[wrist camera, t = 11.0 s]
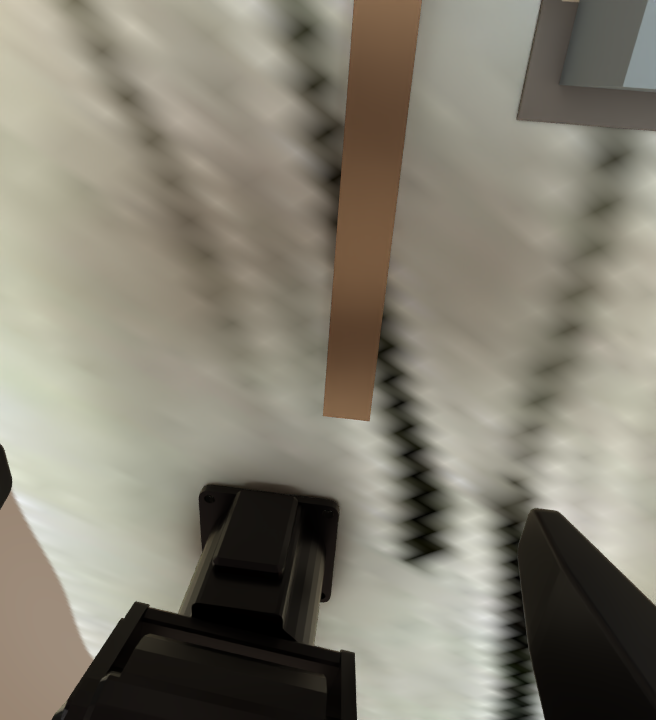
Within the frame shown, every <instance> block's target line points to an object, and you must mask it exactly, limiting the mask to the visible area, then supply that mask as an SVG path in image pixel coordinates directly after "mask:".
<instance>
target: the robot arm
mask: <svg viewBox="0 0 656 720" xmlns="http://www.w3.org/2000/svg"><path fill="white" fill-rule="evenodd" d="M11 487H12V476H11V472H10V469H9V465H8V461H7V458H6V454H5V450H4V448H3V446H2V445H1V444H0V509H1V507H2V506H3V504H4V502H5V500H6V499H7V497H8V495H9V493H10V491H11ZM208 495H211V496H213V497H209V496H208ZM199 510H200V526H201V543H202V555H201V557H200V560H199V562H198V565H197V567H196V570H195V572H194V575H193V577H192V580H191V582H190V585H189V587H188V590H187V592H186V595H185V597H184V600H183V602H182V605H181V607H180V610H179V612H178V614H177V613H172V612H168V611H164V610H160V609H155V608H151V607H149V606H150V605H149V604H145V603H141V602H137V601H135V603H134V604H133V606H132V607H131V609H130V610H129V612H128V613H127V615H126V616H125V618H121V619H120V621H119V622H118V624H117V626H116V627H115V629H114V630H113V632H112V633H111V635H110V636H109V638H108V639H107V641H106V642H105V644H104V645H103V647H102V648H101V650H100V651H99V653H98V654H97V656H96V657H95V659H94V660H93V662H92V663H91V665H90V666H89V668H88V669H87V671H86V672H85V674H84V675H83V677H82V679H81V680H80V682H79V683H78V685H77V686H76V688H75V689H74V691H73V692H72V694H71V695H70V697H69V699H68V700H67V701H66V702H65V703H64V704H63V705H62V707H61V708H60V709H59V710H58V711H57V712H56V713H55V715H54V716H53V718H52V720H357V707H356V678H355V653H354V652H349V651H345V650H340V652H338V651H334V650H330V649H326V648H321V647H317V646H314V642H315V635H316V627H317V620H318V613H319V605H320V602H327V601H328V600H329V599H330V596H331V587H332V578H333V568H334V558H335V548H336V539H337V529H338V519H339V505H338V504H337V503H336V502H334V501H332V500H328V499H320V498H311V497H303V496H295V495H287V494H279V493H271V492H263V491H255V490H247V489H239V488H231V487H223V486H215V485H207V486H204V487H203V488H202V490H201V492H200V495H199ZM325 510H330V511H332V512H326V511H325ZM518 564H519V572H520V581H521V589H522V597H523V606H524V614H525V623H526V631H527V639H528V646H529V652H530V657H531V662H532V667H533V671H534V675H535V679H536V684H537V688H538V692H539V697H540V701H541V705H542V709H543V714H544V718H545V720H656V606H655V605H654V604H653V603H652V602H651V601H650V600H649V599H648V598H647V597H646V596H645V595H644V594H643V593H642V592H641V591H640V590H639V589H638V588H637V587H636V586H635V585H634V584H633V583H632V582H631V581H630V580H629V579H628V578H627V577H626V576H625V575H624V574H623V573H622V572H621V571H620V570H618V569H617V568H616V567H615V566H614V565H613V564H612V563H611V562H610V561H609V560H608V559H607V558H606V557H605V556H604V555H603V554H602V553H601V552H600V551H599V550H598V549H597V548H596V547H595V546H594V545H593V544H592V543H591V542H590V541H589V540H588V539H587V538H586V537H585V536H584V535H583V534H581V533H580V532H579V531H578V530H577V529H576V528H575V527H574V526H573V525H572V524H571V523H570V522H569V521H568V520H567V519H566V518H565V517H564V516H563V515H562V514H561V513H559V512H558V511H555V510H547V509H539V508H534V509H532V510H531V511H530V512H529V514H528V517H527V520H526V523H525V526H524V529H523V532H522V535H521V539H520V542H519V546H518ZM321 592H322V593H321Z"/></svg>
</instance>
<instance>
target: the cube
mask: <svg viewBox="0 0 656 720" xmlns="http://www.w3.org/2000/svg"><path fill="white" fill-rule="evenodd" d="M559 85H569V86H581V87H594V88H606V89H619V90H631V91H644V92H656V0H580V1H579V5H578V9H577V13H576V17H575V21H574V25H573V29H572V33H571V38H570V42H569V46H568V50H567V54H566V58H565V62H564V66H563V70H562V74H561V79H560V83H559Z"/></svg>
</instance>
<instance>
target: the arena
mask: <svg viewBox="0 0 656 720" xmlns="http://www.w3.org/2000/svg"><path fill="white" fill-rule="evenodd" d="M579 1H580V0H542V2H541V7H540V12H539V16H538V21H537V26H536V31H535V35H534V40H533V45H532V49H531V54H530V59H529V63H528V68H527V73H526V78H525V82H524V87H523V92H522V96H521V101H520V106H519V110H518V115H517V120H525V121H537V122H550V123H562V124H575V125H588V126H600V127H613V128H625V129H638V130H651V131H656V92H644V91H631V90H619V89H606V88H594V87H581V86H569V85H559V83H560V79H561V74H562V70H563V66H564V62H565V58H566V54H567V50H568V46H569V42H570V38H571V33H572V29H573V25H574V21H575V17H576V13H577V9H578V5H579ZM421 3H422V0H354V9H353V23H352V36H351V49H350V63H349V76H348V89H347V103H346V116H345V129H344V143H343V156H342V169H341V183H340V196H339V209H338V223H337V236H336V249H335V262H334V276H333V289H332V302H331V316H330V329H329V342H328V356H327V369H326V382H325V396H324V409H323V416H328V417H337V418H345V419H354V420H363V421H369V420H370V412H371V404H372V396H373V388H374V380H375V372H376V364H377V356H378V348H379V340H380V332H381V324H382V316H383V308H384V300H385V292H386V284H387V276H388V268H389V260H390V252H391V244H392V236H393V228H394V220H395V212H396V204H397V196H398V188H399V180H400V172H401V164H402V156H403V148H404V140H405V132H406V124H407V116H408V108H409V100H410V91H411V83H412V75H413V67H414V59H415V51H416V43H417V35H418V27H419V19H420V11H421Z"/></svg>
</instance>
